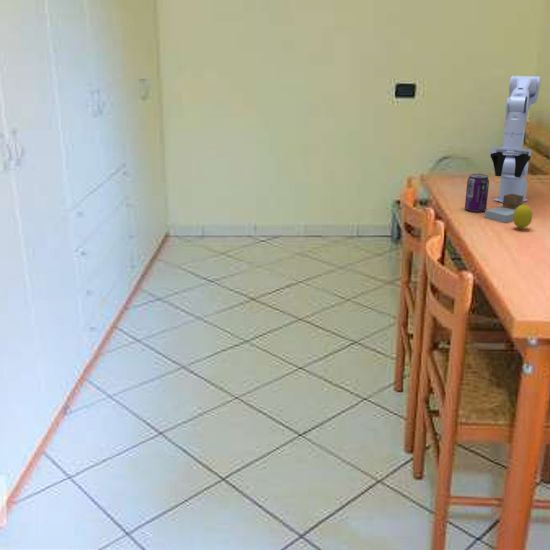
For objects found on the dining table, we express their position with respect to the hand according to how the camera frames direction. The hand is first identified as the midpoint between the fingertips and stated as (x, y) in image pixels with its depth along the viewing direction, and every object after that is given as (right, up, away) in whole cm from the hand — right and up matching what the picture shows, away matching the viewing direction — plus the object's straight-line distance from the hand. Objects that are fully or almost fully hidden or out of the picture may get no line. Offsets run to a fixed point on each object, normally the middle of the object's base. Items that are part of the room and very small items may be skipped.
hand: (507, 176), depth 221 cm
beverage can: (-7, -10, +11) cm, 17 cm away
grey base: (-1, -13, +1) cm, 14 cm away
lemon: (+1, -18, -11) cm, 21 cm away
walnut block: (+4, -11, +7) cm, 14 cm away
